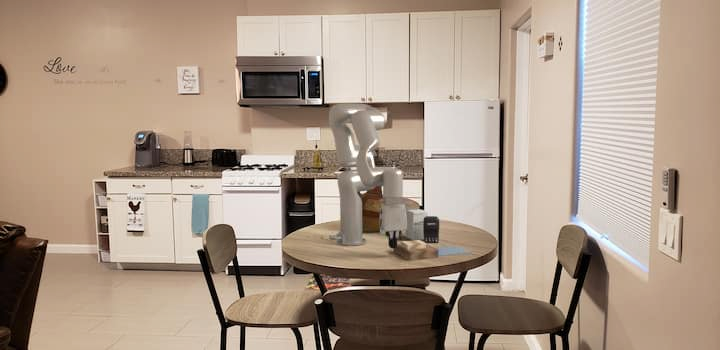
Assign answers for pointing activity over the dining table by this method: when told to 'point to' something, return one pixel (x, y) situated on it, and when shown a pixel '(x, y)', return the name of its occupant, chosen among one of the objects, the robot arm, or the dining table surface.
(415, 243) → the birch slab
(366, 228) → the brown vase
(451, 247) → the rubber mat
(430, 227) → the battery
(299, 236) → the dining table surface
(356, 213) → the robot arm
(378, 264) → the dining table surface
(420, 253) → the walnut block
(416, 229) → the supplement box
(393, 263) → the dining table surface
